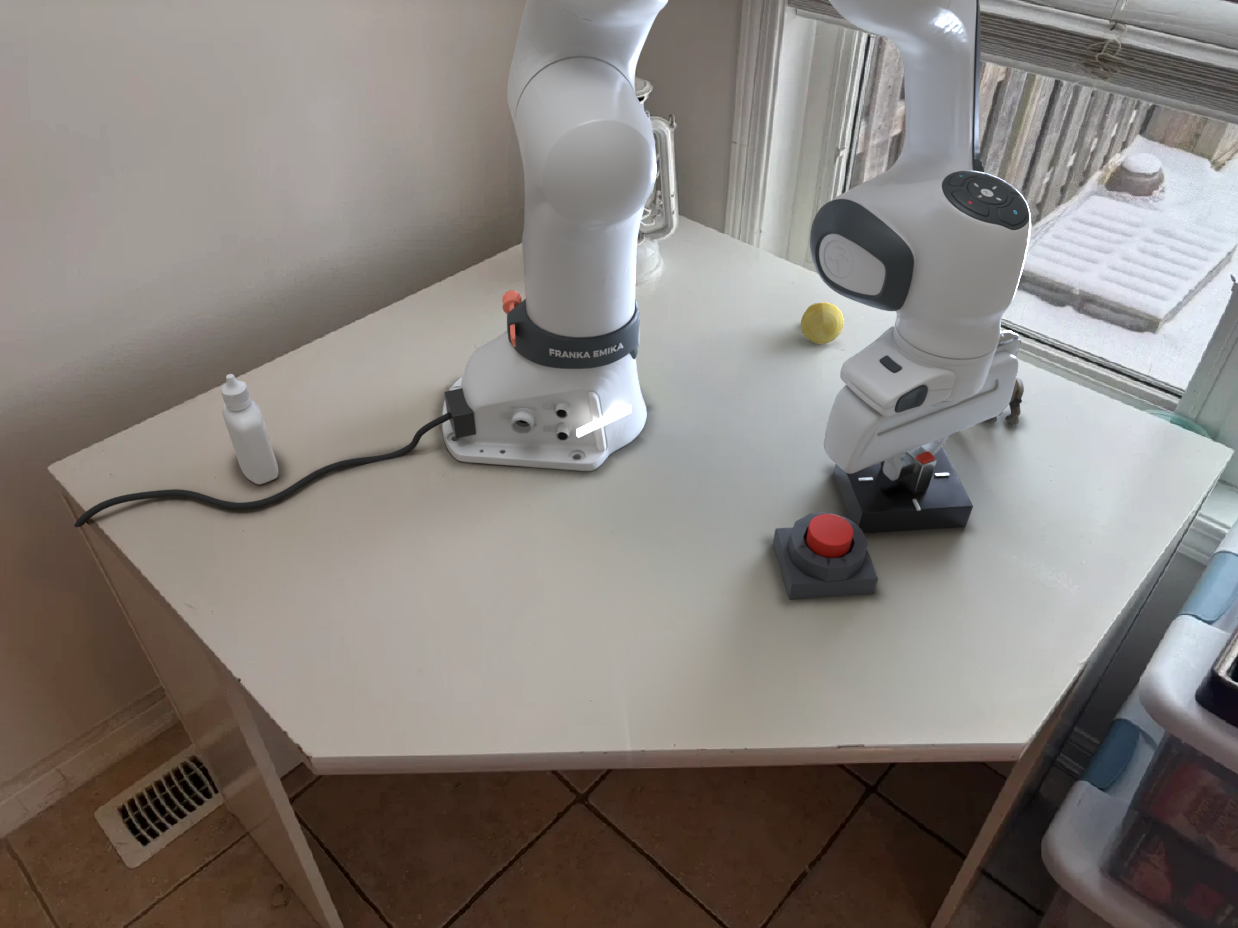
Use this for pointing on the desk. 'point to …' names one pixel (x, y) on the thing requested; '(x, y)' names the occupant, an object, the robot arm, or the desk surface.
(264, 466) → the eye dropper bottle
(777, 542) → the igniter
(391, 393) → the desk surface
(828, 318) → the knob
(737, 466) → the desk surface
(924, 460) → the knob
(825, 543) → the button
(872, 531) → the hob panel
